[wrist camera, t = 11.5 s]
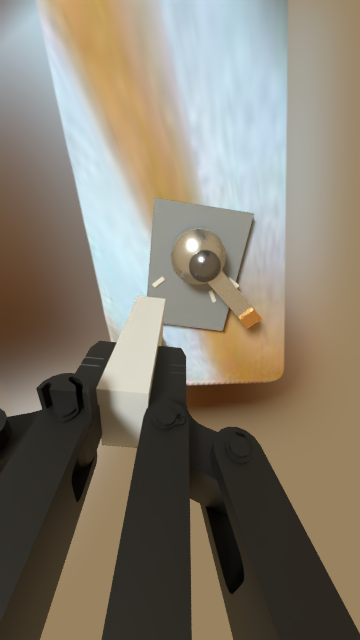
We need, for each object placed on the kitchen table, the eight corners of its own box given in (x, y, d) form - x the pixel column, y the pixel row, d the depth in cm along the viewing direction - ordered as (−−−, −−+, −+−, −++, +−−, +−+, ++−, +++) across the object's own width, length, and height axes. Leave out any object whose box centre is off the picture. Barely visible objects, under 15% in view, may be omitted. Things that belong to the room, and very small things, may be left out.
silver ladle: (161, 251, 31) (159, 257, 28) (200, 214, 29) (202, 216, 26) (230, 327, 37) (235, 339, 34) (267, 300, 35) (276, 311, 32)
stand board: (155, 197, 30) (154, 197, 28) (254, 213, 31) (258, 214, 29) (146, 317, 38) (144, 322, 37) (224, 326, 39) (226, 332, 38)
